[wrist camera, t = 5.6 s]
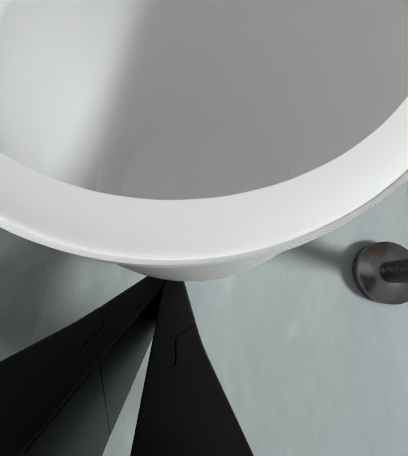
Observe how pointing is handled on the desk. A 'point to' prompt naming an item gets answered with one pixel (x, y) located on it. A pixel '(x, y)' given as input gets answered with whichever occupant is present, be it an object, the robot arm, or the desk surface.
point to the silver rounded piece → (382, 272)
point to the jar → (198, 126)
